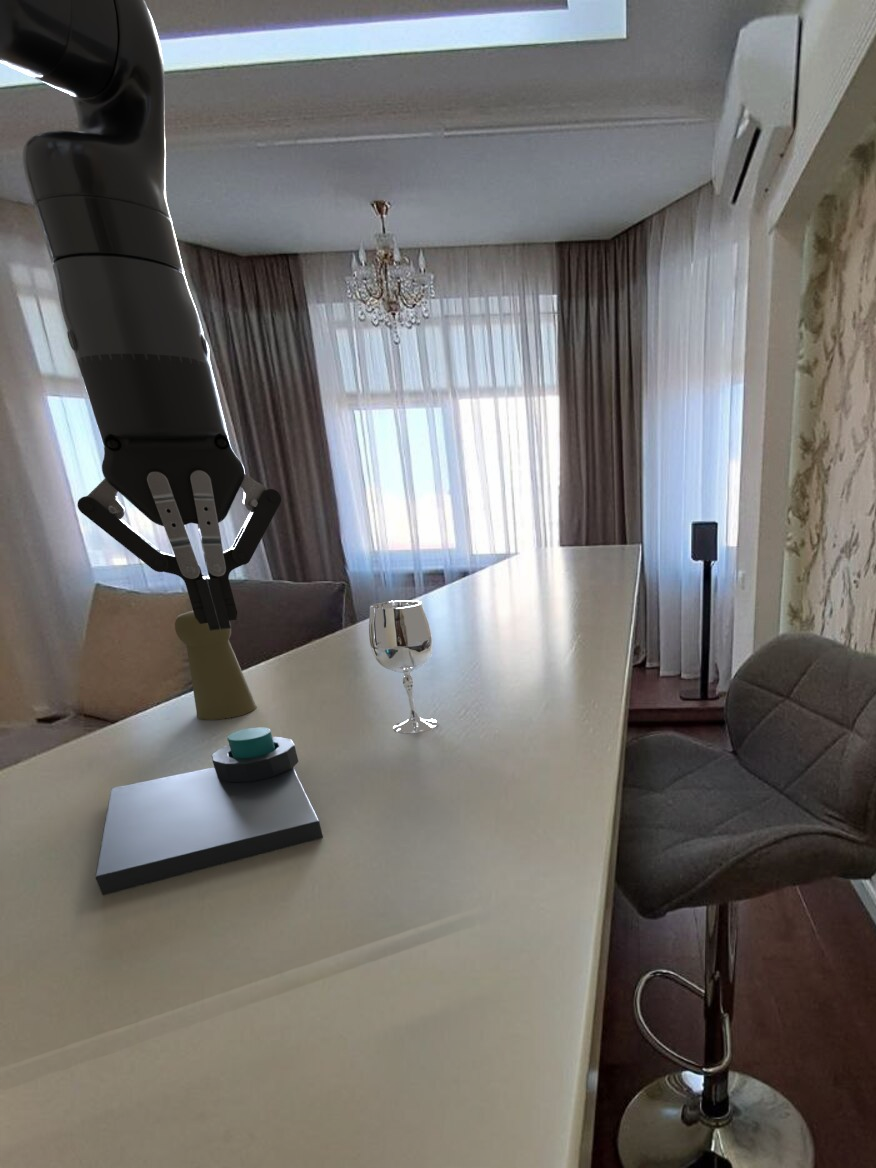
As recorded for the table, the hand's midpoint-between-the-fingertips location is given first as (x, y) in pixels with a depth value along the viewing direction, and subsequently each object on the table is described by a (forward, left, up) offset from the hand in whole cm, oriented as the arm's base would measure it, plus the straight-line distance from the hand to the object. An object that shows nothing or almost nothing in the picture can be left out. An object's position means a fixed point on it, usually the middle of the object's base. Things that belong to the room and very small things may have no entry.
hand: (219, 628), depth 51 cm
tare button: (0, 0, -10) cm, 10 cm away
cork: (-1, +25, -13) cm, 28 cm away
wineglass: (+15, +6, -13) cm, 21 cm away
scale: (-4, -6, -13) cm, 14 cm away
